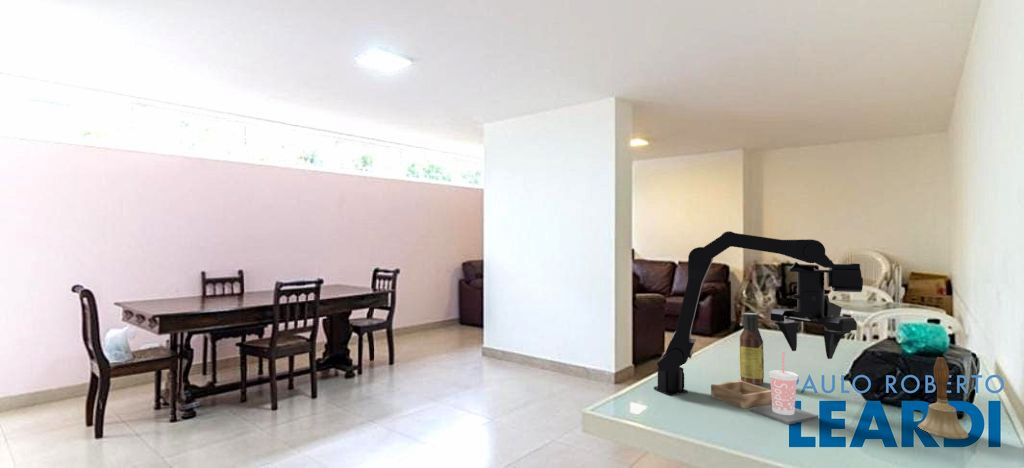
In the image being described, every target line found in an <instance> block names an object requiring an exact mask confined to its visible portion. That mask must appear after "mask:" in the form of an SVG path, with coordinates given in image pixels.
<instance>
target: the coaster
mask: <svg viewBox="0 0 1024 468" xmlns="http://www.w3.org/2000/svg"><path fill="white" fill-rule="evenodd" d="M750 411H751V412H754V413H757V414H759V415H762V416H764V417H768V418H770V419H772V420H776V421H777V422H780V423H783V424H786V425H794V424H797V423H796V422H799V423H802V422H807V421H808V422H809V421H813V420H816V419H819V415H818V414H815V413H811V412H808V411H806V410H803V409H800V408H796V407H795V410H794V414H793V415H783V414H778V413H775V412H773V411H772V403H771V404H766V405H760V406H755V407H750Z"/></svg>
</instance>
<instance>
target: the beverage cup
mask: <svg viewBox="0 0 1024 468" xmlns="http://www.w3.org/2000/svg"><path fill="white" fill-rule="evenodd" d="M768 376H769V379H770V390H771V397H772V403H771V404H772V411H773V412H775V413H778V414H783V415H793V414H794V410H795V408H796V393H797V380H798V379H799V378H798V377H799V374H797V373H795V372H793V371H789V370H788V371H787V370H785V351H782V352H781V370H778V369H776V370H774V369H773V370H769V371H768Z"/></svg>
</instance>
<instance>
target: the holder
mask: <svg viewBox="0 0 1024 468" xmlns="http://www.w3.org/2000/svg"><path fill="white" fill-rule="evenodd" d="M710 390H711V391H710V397H713V398H714V399H718V400H719V401H723V402H726V403H729V404H731V405H734V406H737V407H738V408H739V407H740V408H742V409H749V408H754V407H759V406H765V405H770V404H772V397H771V388H770V389H769V388H766V387H763V386H760V385H754V384H751V383H747V382H744V381H741V379H740V380H732V381H727V382H720V383H712V384H710Z"/></svg>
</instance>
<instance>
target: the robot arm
mask: <svg viewBox="0 0 1024 468" xmlns="http://www.w3.org/2000/svg"><path fill="white" fill-rule="evenodd" d="M730 247H731V248H732V247H734V248H738V249H747V250H752V251H753V250H754V251H759V252H765V253H772V254H777V255H778V254H779V255H782V256H785V257H789V258H792V259H795V260H798V261H801V262H804V263H806V264H807V263H808V264H807V265H805V264H804V265H803V264H799V263H798V262H797V261H795V262H794V263H793V265H792V266H790V267H789V268H788V269H787V270H788V271H789V272H790V273H796V277H797V278H796V279H797V281H796V285H797V286H796V287H797V291H796V293H795V294H793V299H795V300H796V299H797V300H796V301H797V302H796V303H797V305H796V306H797V309H793V308H784V307H783V308H773V309H772V311H771V312H770V313H769V314H770V316H769V317H770V321H774V324H775V325H777V326H778V328H779V329H780V331H781V334H783V336H784V338H785V340H786V342H787V344H788V346H789V348H790V349H791V351H792V352H797V347H798V332H797V331H798V327H799V326H800V323H807V324H808V323H810V324H814V325H821V326H823V327H825V329H826V330H823V331H822V332H823V338H824V339H823V340H824V346H825V348H824V349H825V354H826V358H827V359H828V360H832V359H833V357H834V355H835V352H836V350H837V348H838V345H839V343H840V342H841V339H842V338H843V337H844V336H845V335H846V334H851V333H852V331H858V323H857V321H856V320H855V318H854V317H850V316H843V315H842V316H841V314H842V313H841V312H842V309H843V308H842V306H840V305H838V304H836V303H833V302H830V297H829V295H828V294H825V273H826V286H827V288H831V290H832V292H839V293H841V292H842V293H844V292H845V293H862V291H863V287H864V286H863V285H864V278H863V277H862V276H863V275H862V271H861V264H860V263H854V262H853V263H833V260H832V259H830V258H829V257H828V256H827V254H826V248H825V245H824V244H823V243H822V242H821V241H820V240H816V239H809V238H808V239H780V238H772V237H765V236H757V235H750V234H745V233H737V232H733V231H727V230H726V231H725V232H723V233H722V234H721V235H720V236H718V237H717V238H715V239H714V240H712V241H710V242H709V243H707V244H706V245H705V246H698V247H695V248H693V249H692V250H690V252H689V254H688V256H687V257H688V259H687V260H688V261H687V283H686V287H685V291H684V295H683V298H682V304H681V308H680V311H679V316H678V319H677V325H676V328H675V331H674V333H673V335H672V337H671V339H670V342H669V343H668V346H667V348H666V350H665V353H664V354H663V355H661V357H660V358H659V359H658V361H657V363H656V365H657V385H656V386H653V389H654V390H656V391H659V392H661V393H664V394H666V395H668V396H673V395H678V394H685V393H688V389H685V373H684V367H681V366H683V365H685V364H687V362H688V359H692V356H693V354H694V345H695V344H696V341H697V339H696V338H692V329H693V324H694V319H695V316H696V312H697V308H698V303H699V299H700V295H701V292H702V287H703V283H704V280H705V279H706V277H707V275H708V272H709V270H710V267H711V266H712V263H713V260H714V258H715V257H717V256H718V255H720V254H722V253H723V252H725V251H726V250H727V249H729V248H730ZM809 264H812V265H809ZM813 264H816V265H818V266H819V267H821V268H826V269H815V267H814V265H813Z"/></svg>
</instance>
